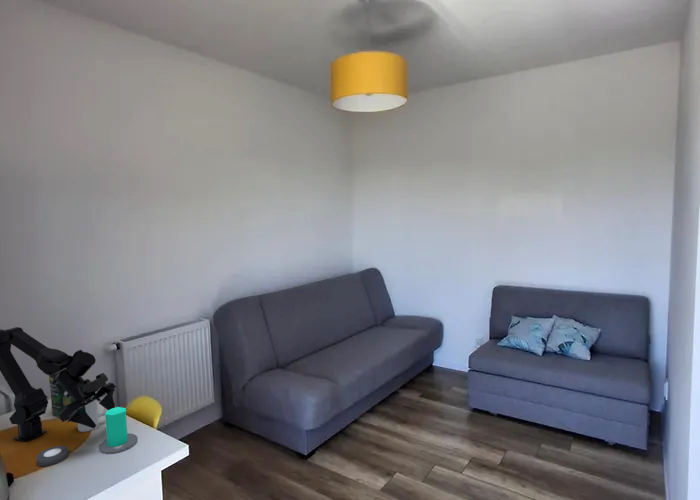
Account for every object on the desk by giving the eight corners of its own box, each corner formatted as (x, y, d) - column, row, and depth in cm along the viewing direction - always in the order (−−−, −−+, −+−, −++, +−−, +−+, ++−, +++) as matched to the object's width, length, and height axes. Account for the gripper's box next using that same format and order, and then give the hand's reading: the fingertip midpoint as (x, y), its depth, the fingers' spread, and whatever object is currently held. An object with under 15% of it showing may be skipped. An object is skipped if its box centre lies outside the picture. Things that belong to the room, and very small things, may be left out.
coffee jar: (48, 413, 163) (44, 365, 162) (71, 405, 170) (68, 359, 168) (59, 420, 158) (55, 370, 156) (83, 411, 164) (79, 364, 162)
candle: (117, 448, 136) (115, 411, 135) (102, 445, 138) (100, 409, 137) (132, 438, 142) (129, 403, 141) (117, 436, 144) (115, 401, 143)
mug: (78, 434, 147) (75, 400, 146) (75, 427, 152) (73, 394, 151) (111, 425, 153) (109, 392, 152) (107, 418, 159) (105, 386, 157)
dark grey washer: (30, 465, 129) (29, 458, 129) (53, 450, 137) (53, 444, 137) (52, 467, 128) (51, 461, 128) (74, 453, 136) (74, 446, 135)
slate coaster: (90, 451, 136) (90, 449, 136) (116, 434, 147) (116, 431, 147) (120, 455, 134) (120, 453, 134) (144, 437, 144) (144, 435, 144)
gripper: (64, 380, 130) (98, 418, 129) (109, 359, 149) (139, 392, 148) (44, 403, 133) (77, 441, 132) (91, 379, 151) (120, 412, 150)
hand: (106, 420), depth 140 cm, fingers open, 9 cm apart
